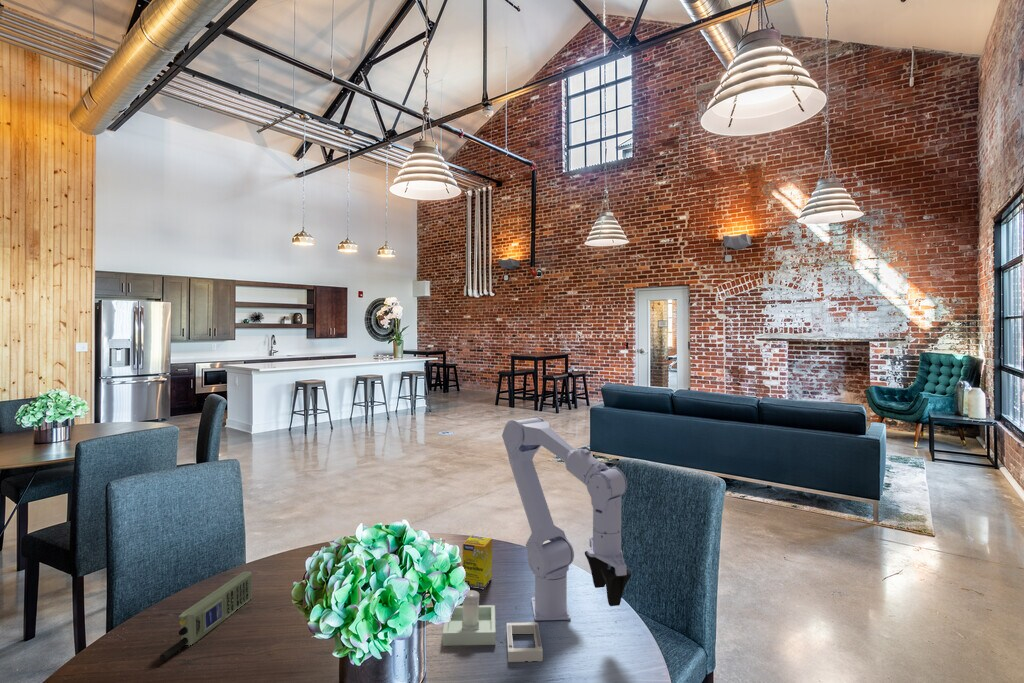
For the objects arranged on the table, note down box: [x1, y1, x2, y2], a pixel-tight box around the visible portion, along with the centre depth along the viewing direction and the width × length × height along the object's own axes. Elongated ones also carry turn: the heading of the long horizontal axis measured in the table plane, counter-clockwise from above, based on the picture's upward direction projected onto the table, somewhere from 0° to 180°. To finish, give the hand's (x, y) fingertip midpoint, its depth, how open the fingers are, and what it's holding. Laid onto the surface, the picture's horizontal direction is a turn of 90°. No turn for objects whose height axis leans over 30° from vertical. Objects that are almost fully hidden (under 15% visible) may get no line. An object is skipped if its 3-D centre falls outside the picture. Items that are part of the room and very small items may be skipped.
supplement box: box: [461, 535, 493, 589], centre depth 129 cm, size 6×6×11 cm
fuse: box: [462, 589, 480, 631], centre depth 107 cm, size 4×4×7 cm
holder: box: [506, 621, 544, 663], centre depth 102 cm, size 10×7×2 cm, turn 3°
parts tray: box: [442, 604, 496, 647], centre depth 107 cm, size 11×11×2 cm
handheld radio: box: [159, 570, 253, 662], centre depth 108 cm, size 7×3×25 cm
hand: (606, 595), depth 104 cm, fingers open, 7 cm apart
